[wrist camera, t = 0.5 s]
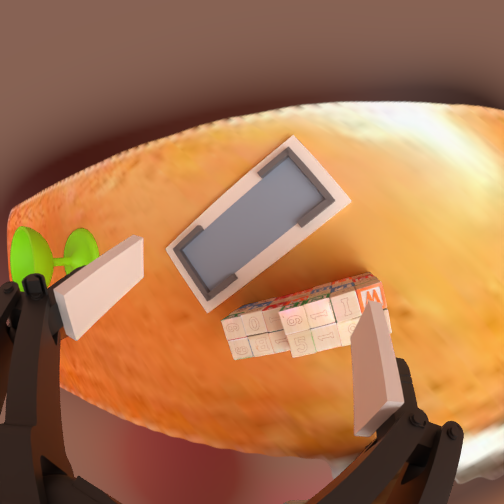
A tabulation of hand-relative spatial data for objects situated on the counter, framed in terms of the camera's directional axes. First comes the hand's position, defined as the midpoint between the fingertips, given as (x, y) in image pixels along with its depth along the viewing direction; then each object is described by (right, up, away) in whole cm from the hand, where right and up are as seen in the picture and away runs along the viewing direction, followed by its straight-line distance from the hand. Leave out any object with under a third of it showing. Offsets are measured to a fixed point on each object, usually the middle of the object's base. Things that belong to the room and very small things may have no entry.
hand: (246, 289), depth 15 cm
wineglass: (-42, 0, +44) cm, 61 cm away
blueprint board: (0, +6, +30) cm, 30 cm away
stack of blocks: (+9, -7, +27) cm, 30 cm away
